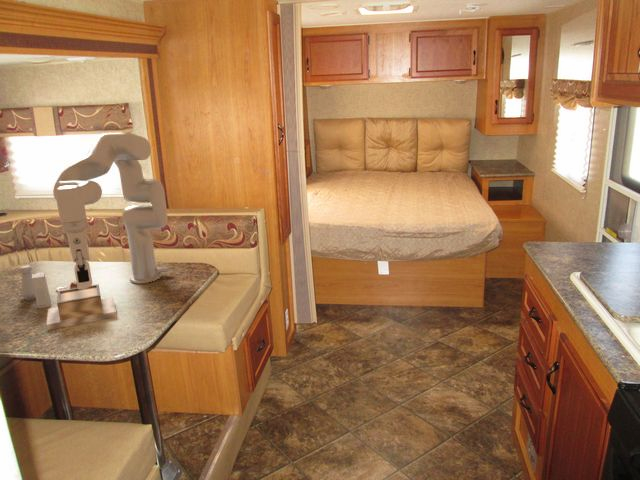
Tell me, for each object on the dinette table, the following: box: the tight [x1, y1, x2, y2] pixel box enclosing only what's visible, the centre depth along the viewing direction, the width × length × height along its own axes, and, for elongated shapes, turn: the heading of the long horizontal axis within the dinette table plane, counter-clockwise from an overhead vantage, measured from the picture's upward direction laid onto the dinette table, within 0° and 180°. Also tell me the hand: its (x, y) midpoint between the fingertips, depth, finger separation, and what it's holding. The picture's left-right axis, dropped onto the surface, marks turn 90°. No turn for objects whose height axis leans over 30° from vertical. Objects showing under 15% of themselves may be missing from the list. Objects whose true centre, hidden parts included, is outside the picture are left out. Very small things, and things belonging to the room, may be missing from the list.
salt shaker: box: [18, 264, 36, 301], centre depth 199 cm, size 6×6×13 cm
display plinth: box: [46, 283, 118, 331], centre depth 183 cm, size 22×14×9 cm, turn 115°
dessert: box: [55, 280, 77, 292], centre depth 207 cm, size 12×12×5 cm
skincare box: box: [31, 271, 52, 309], centre depth 193 cm, size 6×4×12 cm
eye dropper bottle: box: [73, 259, 93, 289], centre depth 166 cm, size 4×6×12 cm
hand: (83, 277), depth 167 cm, fingers closed on eye dropper bottle, 5 cm apart
